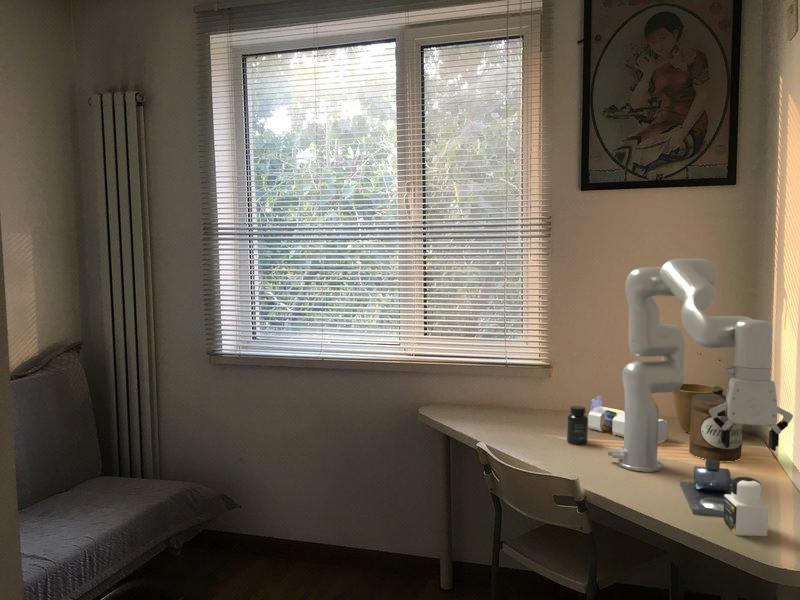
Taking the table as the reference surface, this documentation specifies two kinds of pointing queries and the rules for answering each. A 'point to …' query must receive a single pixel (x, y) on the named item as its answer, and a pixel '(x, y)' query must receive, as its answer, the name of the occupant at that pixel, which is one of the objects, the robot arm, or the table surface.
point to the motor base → (708, 489)
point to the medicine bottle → (745, 508)
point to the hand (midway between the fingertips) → (748, 447)
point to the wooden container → (712, 429)
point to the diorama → (617, 420)
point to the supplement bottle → (577, 426)
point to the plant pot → (687, 402)
